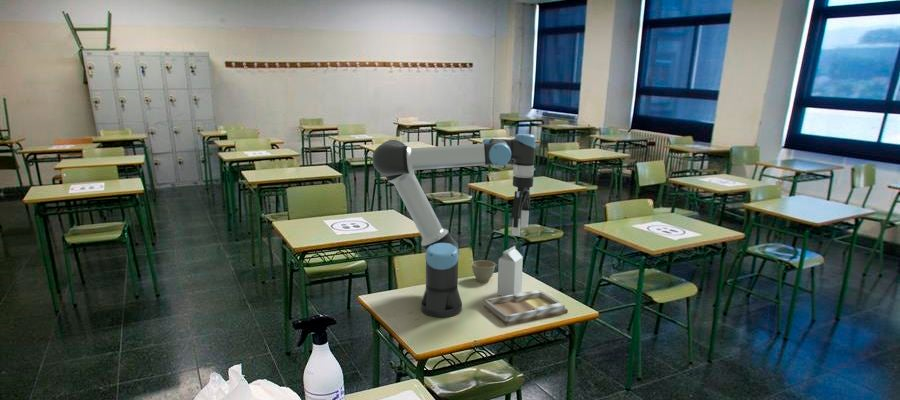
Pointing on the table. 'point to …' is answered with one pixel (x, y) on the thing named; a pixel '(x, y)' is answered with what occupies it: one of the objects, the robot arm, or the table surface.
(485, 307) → the divided compartment tray
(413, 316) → the table surface
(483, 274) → the flower pot
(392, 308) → the table surface
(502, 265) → the milk carton
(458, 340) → the table surface
